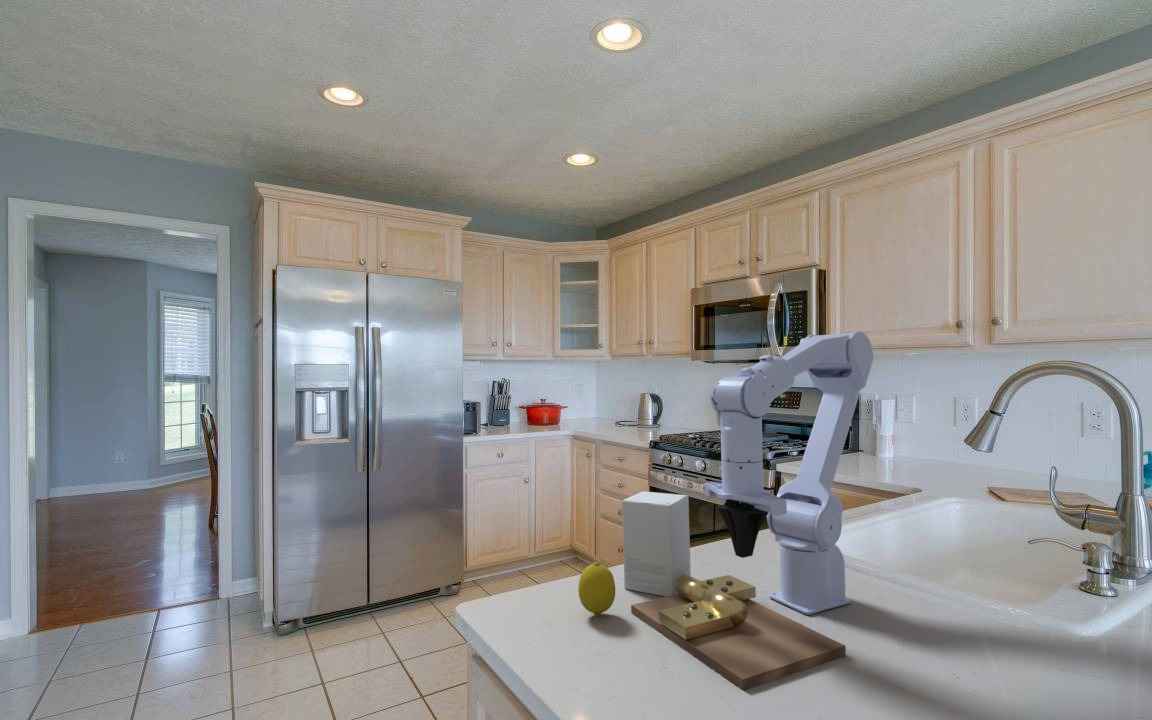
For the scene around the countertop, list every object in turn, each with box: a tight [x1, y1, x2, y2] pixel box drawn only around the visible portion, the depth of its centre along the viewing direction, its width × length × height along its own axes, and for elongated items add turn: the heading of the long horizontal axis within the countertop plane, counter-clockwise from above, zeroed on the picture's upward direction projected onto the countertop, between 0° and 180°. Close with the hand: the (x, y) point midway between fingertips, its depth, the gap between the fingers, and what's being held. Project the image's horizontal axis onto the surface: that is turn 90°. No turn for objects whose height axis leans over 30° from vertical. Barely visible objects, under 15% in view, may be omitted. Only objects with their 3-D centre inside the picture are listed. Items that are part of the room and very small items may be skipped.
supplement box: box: [621, 490, 692, 597], centre depth 98 cm, size 9×9×15 cm
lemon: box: [577, 561, 616, 617], centre depth 86 cm, size 6×6×8 cm
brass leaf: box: [659, 587, 748, 640], centre depth 80 cm, size 11×6×3 cm, turn 116°
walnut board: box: [630, 593, 847, 691], centre depth 80 cm, size 17×24×1 cm
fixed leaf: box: [676, 574, 757, 602], centre depth 89 cm, size 11×7×3 cm
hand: (744, 555), depth 82 cm, fingers closed
